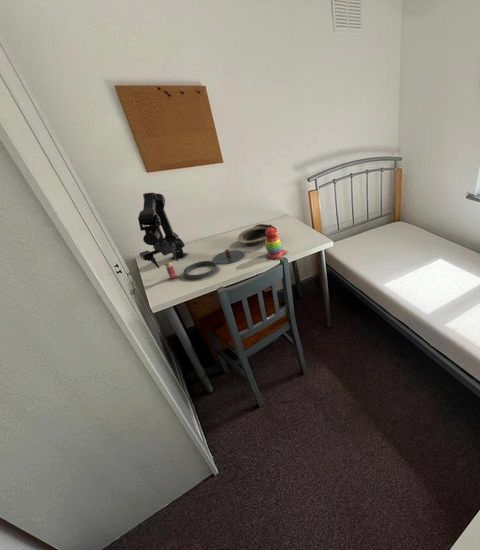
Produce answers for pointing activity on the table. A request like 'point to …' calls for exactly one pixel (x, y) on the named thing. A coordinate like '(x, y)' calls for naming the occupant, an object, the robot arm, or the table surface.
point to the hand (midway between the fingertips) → (168, 264)
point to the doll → (171, 271)
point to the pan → (204, 275)
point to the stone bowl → (254, 235)
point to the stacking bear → (273, 244)
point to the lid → (228, 257)
